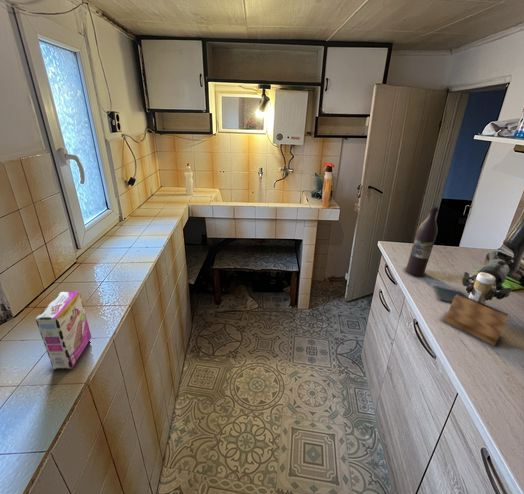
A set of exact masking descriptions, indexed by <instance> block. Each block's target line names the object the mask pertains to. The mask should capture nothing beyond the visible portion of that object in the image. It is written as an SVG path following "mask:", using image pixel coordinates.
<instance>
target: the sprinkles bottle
mask: <svg viewBox="0 0 524 494" xmlns="http://www.w3.org/2000/svg"><path fill="white" fill-rule="evenodd" d="M477 273H478V272H477ZM494 282H495V277H494V276H493V275H491V274H488V273H484V272H480V273H478V275H477V277H476V282H475V284H474V286H473V288H472V291H471V292H470V293H469V295H468V298H470V299H473V300H475V301H478V302H480V303H482V304H485V303H486V302H487V301H486V300H485V298H486V296H487V294H488V293H489V291H490V289H491V286H492V285H493V284H494Z"/></svg>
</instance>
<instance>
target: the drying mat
mask: <svg viewBox="0 0 524 494" xmlns="http://www.w3.org/2000/svg"><path fill="white" fill-rule="evenodd" d="M436 292H437V295H438V296H439V300H440V301H443V302H447V303H451V304H452V302H453V299H454V297H455V296H456V295H459V294H461V295H463V294H462V292H461V291H457V290H451V289H446V288H441V287H436Z"/></svg>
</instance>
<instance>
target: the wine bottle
mask: <svg viewBox="0 0 524 494" xmlns="http://www.w3.org/2000/svg"><path fill="white" fill-rule="evenodd" d="M438 212H439V206H438V205H437V206H435V205H431V206H430V207H429V213H428V216H427V217H426V218H425V219H424V220H423V221H422V222H421V223H420V224H419V226H418V228H417V231H416V234H415V237H414V240H413V244H412V247H411V250H410V254H409V257H408V261H407V263H406V267H405V271H406V273H408V274H409V275H411V276H415V277H423V276H424V274H425V272H426V268H427V266H428V263H429V259H430V257H431V255H432V254H431V253H432V251H433V248H434V245H435V242H436V239H437V235H438V230H439V229H438V223H437V220H436V218H437V214H438Z"/></svg>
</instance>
